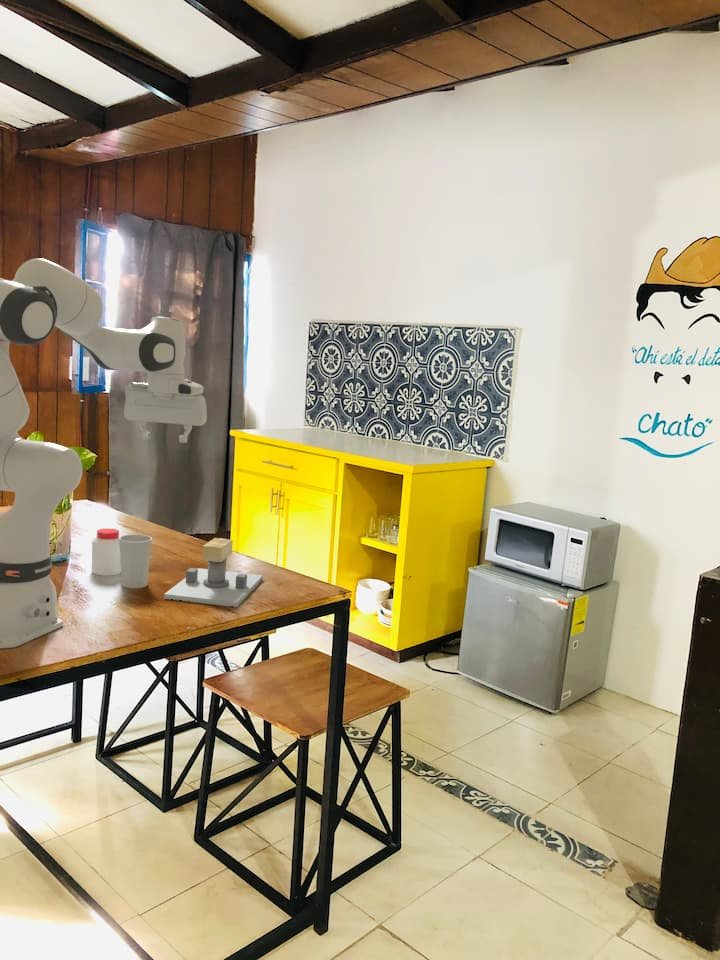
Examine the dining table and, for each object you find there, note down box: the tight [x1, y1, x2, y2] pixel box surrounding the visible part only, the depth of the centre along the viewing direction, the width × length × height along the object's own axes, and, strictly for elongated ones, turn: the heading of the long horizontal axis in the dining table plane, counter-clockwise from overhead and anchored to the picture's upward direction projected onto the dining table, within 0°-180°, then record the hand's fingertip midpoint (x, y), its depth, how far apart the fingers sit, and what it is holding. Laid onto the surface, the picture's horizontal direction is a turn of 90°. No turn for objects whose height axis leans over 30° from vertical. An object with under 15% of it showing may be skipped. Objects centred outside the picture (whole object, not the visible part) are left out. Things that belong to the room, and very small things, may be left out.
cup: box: [119, 533, 153, 589], centre depth 197 cm, size 8×8×12 cm
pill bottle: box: [91, 528, 121, 577], centre depth 207 cm, size 8×8×11 cm
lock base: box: [163, 561, 264, 608], centre depth 199 cm, size 24×18×7 cm
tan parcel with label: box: [201, 537, 233, 563], centre depth 198 cm, size 9×5×5 cm, turn 172°
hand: (164, 440), depth 195 cm, fingers open, 8 cm apart
